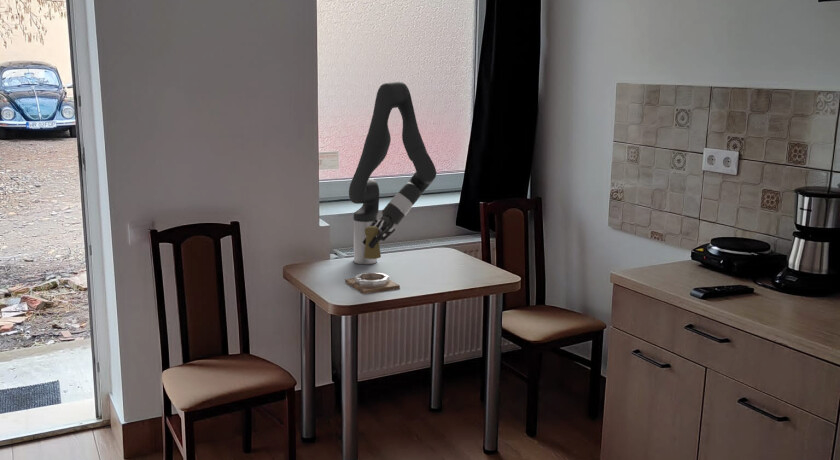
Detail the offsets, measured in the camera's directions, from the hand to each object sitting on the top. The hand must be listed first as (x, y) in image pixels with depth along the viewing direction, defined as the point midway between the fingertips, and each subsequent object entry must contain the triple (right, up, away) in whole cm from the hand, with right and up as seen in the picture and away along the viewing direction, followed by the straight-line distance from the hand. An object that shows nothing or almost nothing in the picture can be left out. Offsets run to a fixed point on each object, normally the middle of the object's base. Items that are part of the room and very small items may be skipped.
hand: (367, 245), depth 274 cm
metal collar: (+2, -13, +4) cm, 14 cm away
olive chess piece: (+2, -4, +2) cm, 5 cm away
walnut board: (+2, -14, +4) cm, 15 cm away
